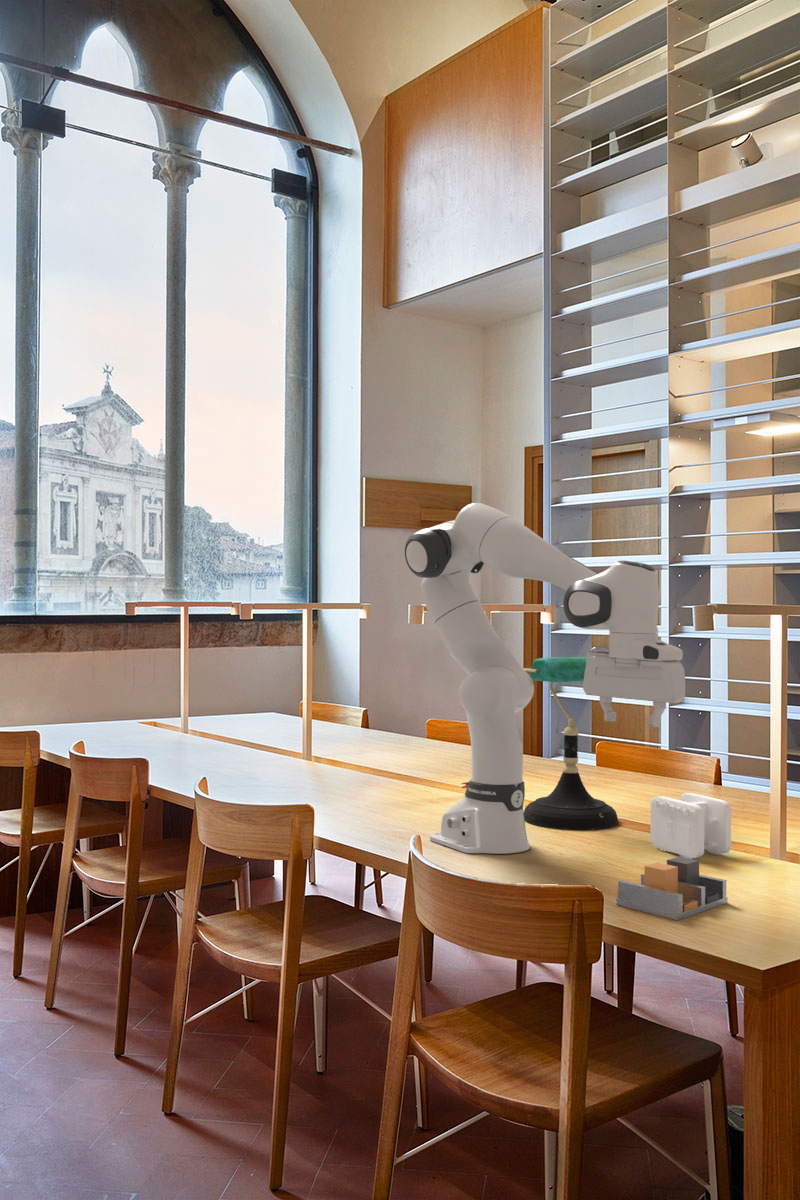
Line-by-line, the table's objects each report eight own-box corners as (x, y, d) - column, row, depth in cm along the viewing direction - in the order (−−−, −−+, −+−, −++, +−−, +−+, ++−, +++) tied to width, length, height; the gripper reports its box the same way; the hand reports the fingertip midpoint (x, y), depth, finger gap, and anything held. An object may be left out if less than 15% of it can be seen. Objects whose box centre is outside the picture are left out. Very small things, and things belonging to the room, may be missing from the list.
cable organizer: (734, 858, 212) (735, 802, 212) (695, 863, 208) (696, 806, 208) (685, 843, 226) (685, 791, 226) (647, 848, 221) (647, 794, 221)
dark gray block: (666, 894, 180) (666, 859, 180) (679, 890, 183) (679, 856, 183) (686, 898, 177) (686, 864, 177) (699, 894, 180) (699, 860, 180)
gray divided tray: (616, 904, 177) (616, 881, 177) (667, 888, 187) (667, 866, 187) (677, 920, 168) (677, 896, 168) (727, 902, 179) (727, 879, 179)
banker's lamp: (561, 834, 233) (563, 659, 234) (498, 817, 252) (499, 655, 253) (643, 823, 248) (644, 658, 248) (577, 807, 267) (578, 654, 268)
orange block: (644, 901, 175) (644, 866, 175) (657, 896, 178) (657, 862, 178) (664, 906, 172) (664, 870, 173) (677, 901, 175) (677, 866, 175)
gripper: (577, 646, 194) (575, 719, 194) (671, 651, 179) (669, 730, 179) (597, 646, 198) (595, 717, 198) (691, 651, 183) (689, 728, 183)
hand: (631, 723), depth 188 cm, fingers open, 8 cm apart
